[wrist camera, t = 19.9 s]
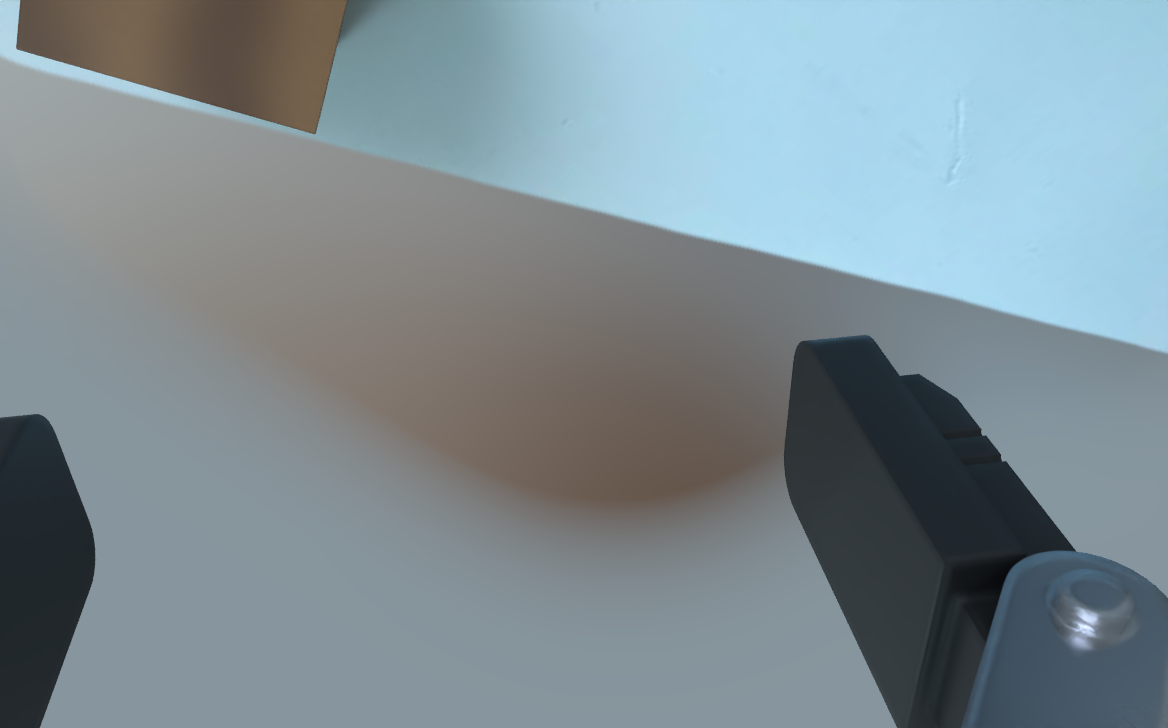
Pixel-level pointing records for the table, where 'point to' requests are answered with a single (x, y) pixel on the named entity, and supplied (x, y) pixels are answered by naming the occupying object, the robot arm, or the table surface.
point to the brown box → (199, 48)
